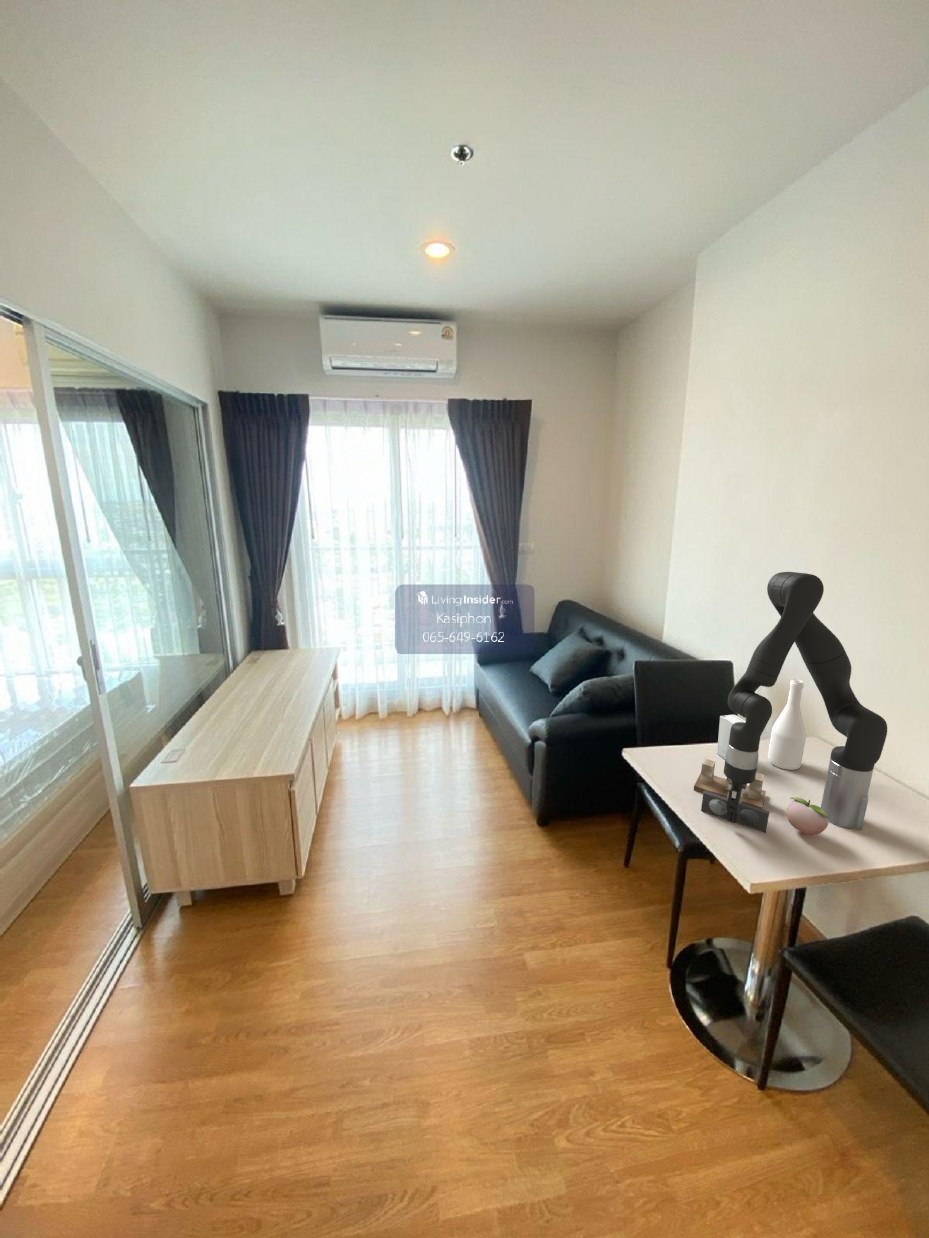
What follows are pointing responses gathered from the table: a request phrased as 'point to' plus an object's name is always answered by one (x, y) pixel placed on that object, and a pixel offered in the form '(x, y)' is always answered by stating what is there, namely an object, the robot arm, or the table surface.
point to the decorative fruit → (806, 816)
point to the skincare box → (726, 732)
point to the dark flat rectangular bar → (745, 814)
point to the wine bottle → (789, 732)
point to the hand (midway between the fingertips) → (733, 813)
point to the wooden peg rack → (720, 785)
